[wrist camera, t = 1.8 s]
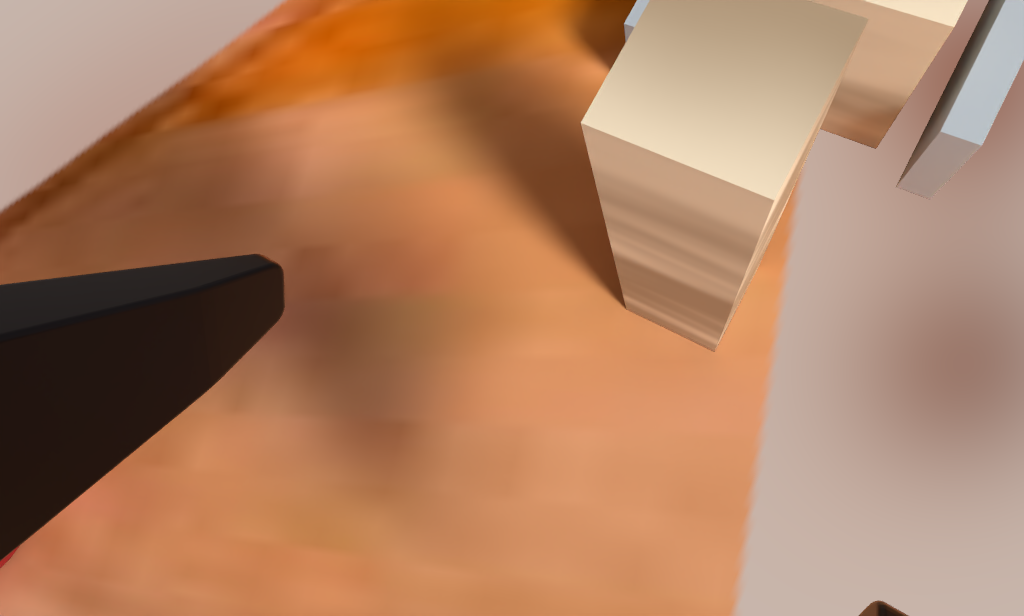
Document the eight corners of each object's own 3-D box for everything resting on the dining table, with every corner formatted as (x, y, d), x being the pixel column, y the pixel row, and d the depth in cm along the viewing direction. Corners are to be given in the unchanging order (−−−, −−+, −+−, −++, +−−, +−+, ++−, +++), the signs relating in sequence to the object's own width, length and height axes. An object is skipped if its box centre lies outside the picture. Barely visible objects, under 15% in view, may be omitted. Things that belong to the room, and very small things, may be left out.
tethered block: (761, 374, 20) (886, 245, 9) (584, 289, 22) (496, 88, 10) (955, -10, 21) (1281, -552, 10) (775, -60, 23) (878, -568, 12)
